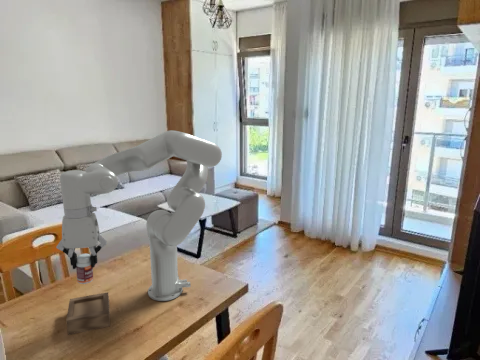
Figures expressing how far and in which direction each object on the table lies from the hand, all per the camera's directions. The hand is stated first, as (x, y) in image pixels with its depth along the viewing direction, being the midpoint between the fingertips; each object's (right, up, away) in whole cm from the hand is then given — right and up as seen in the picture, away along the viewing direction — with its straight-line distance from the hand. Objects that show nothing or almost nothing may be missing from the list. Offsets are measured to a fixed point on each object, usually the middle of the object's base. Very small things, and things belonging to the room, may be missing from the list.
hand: (84, 265), depth 109 cm
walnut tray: (0, -19, +5) cm, 19 cm away
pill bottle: (0, -5, +1) cm, 5 cm away
